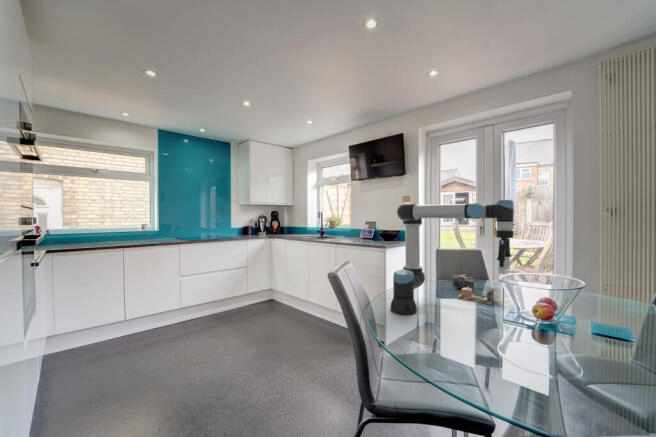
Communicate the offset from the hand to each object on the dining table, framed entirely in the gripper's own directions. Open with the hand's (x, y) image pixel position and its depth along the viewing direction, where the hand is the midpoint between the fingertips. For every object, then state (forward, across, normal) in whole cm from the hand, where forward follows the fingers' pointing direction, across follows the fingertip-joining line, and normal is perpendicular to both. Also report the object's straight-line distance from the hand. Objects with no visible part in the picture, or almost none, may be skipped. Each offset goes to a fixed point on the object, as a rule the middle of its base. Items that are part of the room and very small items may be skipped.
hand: (504, 271), depth 136 cm
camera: (+24, +44, +33) cm, 60 cm away
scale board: (+24, +23, +18) cm, 38 cm away
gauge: (+23, +23, +23) cm, 40 cm away
